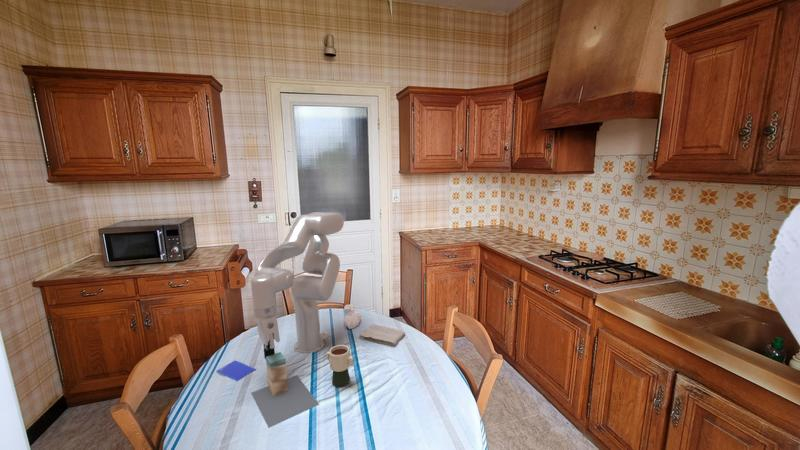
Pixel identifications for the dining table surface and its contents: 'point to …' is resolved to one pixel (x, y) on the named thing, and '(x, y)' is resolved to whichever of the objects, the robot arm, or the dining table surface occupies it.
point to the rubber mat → (284, 402)
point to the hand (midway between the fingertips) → (269, 358)
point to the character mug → (340, 364)
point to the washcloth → (382, 335)
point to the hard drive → (235, 370)
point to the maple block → (276, 373)
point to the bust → (351, 316)
